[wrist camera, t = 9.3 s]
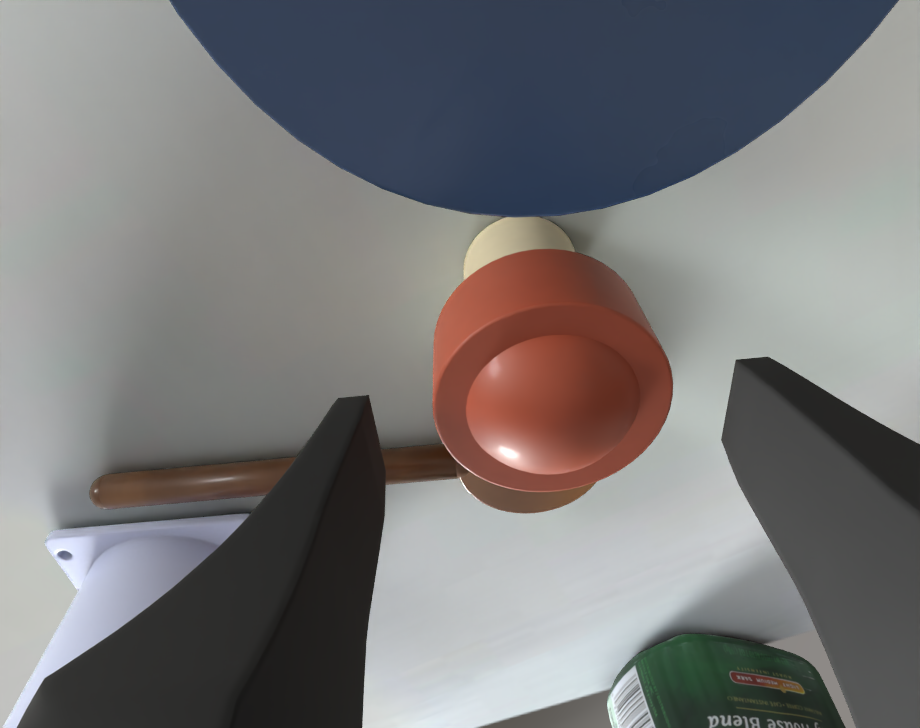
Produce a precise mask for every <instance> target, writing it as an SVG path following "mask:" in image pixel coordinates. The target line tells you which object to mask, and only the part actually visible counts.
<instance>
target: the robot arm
mask: <svg viewBox="0 0 920 728" xmlns="http://www.w3.org/2000/svg"><path fill="white" fill-rule="evenodd" d="M721 440H722V443H723V445H724V448H725V451H726V454H727V456H728V459H729V462H730V464H731V467H732V469H733V472H734V474H735V476H736V479H737V481H738V484H739V486H740V488H741V489H742V491H743V493H744V495H745V497H746V499H747V500H748V502H749V504H750V506H751V507H752V509H753V511H754V513H755V515H756V516H757V518H758V520H759V522H760V524H761V525H762V527H763V529H764V531H765V532H766V534H767V536H768V538H769V539H770V541H771V543H772V545H773V546H774V548H775V550H776V552H777V553H778V555H779V557H780V559H781V560H782V562H783V564H784V566H785V567H786V569H787V571H788V573H789V574H790V576H791V578H792V580H793V581H794V583H795V585H796V587H797V589H798V591H799V593H800V595H801V597H802V599H803V601H804V603H805V605H806V607H807V610H808V612H809V614H810V616H811V619H812V621H813V623H814V626H815V628H816V630H817V632H818V634H819V637H820V639H821V641H822V644H823V646H824V648H825V651H826V653H827V655H828V658H829V660H830V663H831V665H832V668H833V670H834V673H835V675H836V677H837V680H838V682H839V685H840V687H841V690H842V692H843V695H844V697H845V699H846V702H847V705H848V707H849V710H850V713H851V715H852V718H853V721H854V723H855V726H856V728H920V444H918V443H916V442H914V441H912V440H910V439H908V438H906V437H904V436H903V435H901V434H899V433H897V432H895V431H893V430H891V429H890V428H888V427H886V426H884V425H882V424H881V423H879V422H877V421H875V420H874V419H872V418H870V417H868V416H867V415H865V414H863V413H861V412H860V411H858V410H856V409H855V408H853V407H851V406H850V405H848V404H846V403H845V402H843V401H841V400H840V399H838V398H836V397H835V396H833V395H831V394H830V393H828V392H826V391H825V390H823V389H822V388H820V387H818V386H817V385H815V384H813V383H812V382H810V381H809V380H807V379H805V378H804V377H802V376H800V375H799V374H797V373H795V372H794V371H792V370H790V369H789V368H787V367H785V366H784V365H782V364H780V363H778V362H777V361H775V360H773V359H771V358H769V357H761V358H750V359H740V360H736V362H735V368H734V373H733V379H732V384H731V390H730V395H729V401H728V406H727V412H726V417H725V423H724V428H723V433H722V439H721ZM385 486H386V469H385V465H384V460H383V456H382V452H381V447H380V443H379V438H378V434H377V430H376V425H375V421H374V416H373V412H372V408H371V403H370V399H369V395H366V396H355V397H345V398H338V399H337V400H336V401H335V403H334V404H333V405H332V407H331V408H330V410H329V411H328V413H327V414H326V416H325V417H324V419H323V420H322V422H321V423H320V425H319V426H318V428H317V429H316V431H315V432H314V434H313V435H312V436H311V438H310V439H309V441H308V442H307V444H306V445H305V446H304V448H303V449H302V450H301V452H300V453H299V454H298V456H297V457H296V459H295V460H294V461H293V463H292V464H291V465H290V467H289V468H288V469H287V471H286V472H285V473H284V475H283V476H282V477H281V478H280V480H279V481H278V482H277V483H276V484H275V486H274V487H273V488H272V489H271V490H270V492H269V493H268V494H267V495H266V497H265V498H264V499H263V500H262V501H261V503H260V504H259V505H258V506H257V507H256V508H255V510H254V511H253V512H252V513H251V514H248V513H242V514H231V515H220V516H208V517H197V518H185V519H174V520H163V521H151V522H140V523H128V524H117V525H106V526H94V527H83V528H72V529H60V530H54V531H52V532H51V533H49V535H48V537H47V538H46V540H45V545H46V547H47V548H48V550H49V551H50V553H51V554H52V555H53V557H54V558H55V560H56V561H57V562H58V564H59V565H60V566H61V568H62V569H63V571H64V572H65V573H66V575H67V576H68V578H69V579H70V580H71V582H72V583H73V584H74V586H75V587H76V589H77V590H78V592H77V594H76V596H75V598H74V599H73V601H72V603H71V605H70V607H69V609H68V610H67V612H66V614H65V616H64V618H63V619H62V621H61V623H60V625H59V627H58V628H57V630H56V632H55V634H54V636H53V637H52V639H51V641H50V643H49V645H48V646H47V648H46V650H45V652H44V654H43V655H42V657H41V659H40V661H39V663H38V664H37V666H36V668H35V670H34V672H33V673H32V675H31V677H30V679H29V681H28V682H27V684H26V686H25V688H24V690H23V691H22V693H21V695H20V697H19V699H18V700H17V702H16V704H15V706H14V708H13V709H12V711H11V713H10V715H9V717H8V718H7V720H6V722H5V724H4V726H3V727H2V728H362V718H363V694H364V675H365V657H366V639H367V630H368V622H369V614H370V608H371V601H372V595H373V588H374V582H375V576H376V569H377V563H378V556H379V550H380V543H381V537H382V530H383V523H384V516H385Z"/></svg>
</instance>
